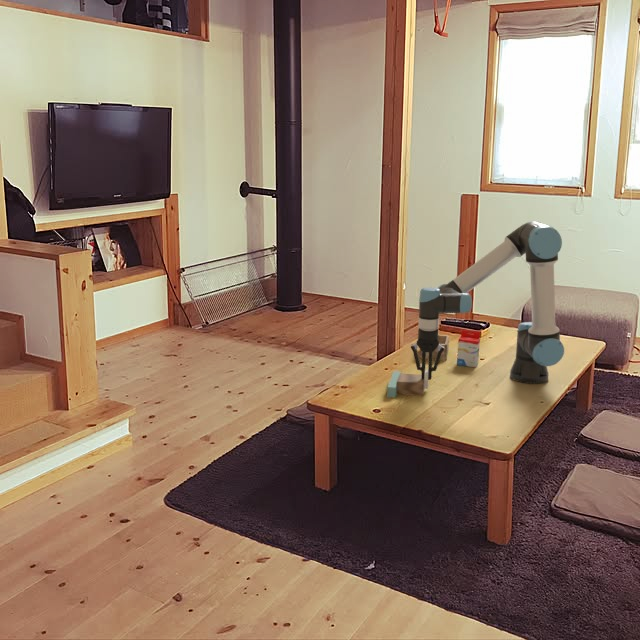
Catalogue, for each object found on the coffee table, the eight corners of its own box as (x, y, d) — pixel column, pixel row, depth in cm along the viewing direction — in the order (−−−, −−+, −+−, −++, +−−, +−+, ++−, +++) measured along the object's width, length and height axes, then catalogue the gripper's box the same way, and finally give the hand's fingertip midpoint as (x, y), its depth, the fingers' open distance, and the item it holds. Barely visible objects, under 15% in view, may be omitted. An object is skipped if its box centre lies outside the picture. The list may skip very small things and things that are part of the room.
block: (425, 387, 308) (425, 375, 307) (422, 395, 299) (423, 383, 297) (399, 385, 310) (400, 373, 309) (396, 393, 301) (397, 381, 299)
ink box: (456, 365, 336) (458, 332, 332) (459, 361, 340) (460, 329, 337) (476, 367, 333) (478, 334, 329) (478, 364, 337) (480, 331, 333)
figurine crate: (448, 350, 357) (449, 335, 355) (446, 360, 342) (447, 344, 341) (422, 348, 359) (423, 333, 358) (419, 358, 345) (420, 343, 343)
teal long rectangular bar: (401, 380, 315) (401, 371, 314) (395, 397, 296) (395, 387, 295) (393, 380, 316) (393, 370, 315) (387, 397, 297) (387, 387, 296)
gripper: (446, 326, 299) (443, 385, 305) (412, 325, 302) (410, 383, 308) (445, 332, 292) (442, 391, 298) (410, 329, 295) (408, 389, 301)
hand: (426, 387), depth 303 cm, fingers closed
